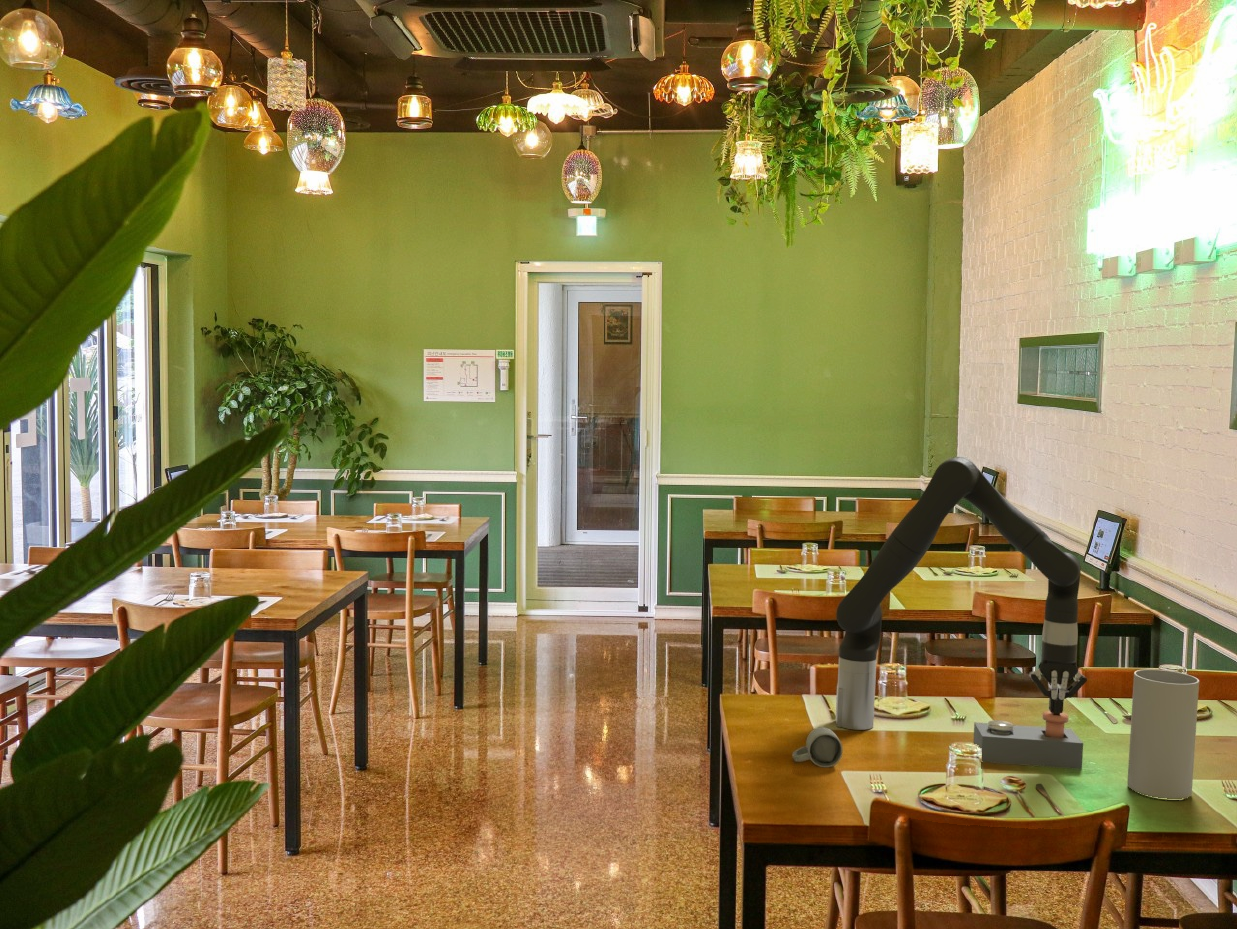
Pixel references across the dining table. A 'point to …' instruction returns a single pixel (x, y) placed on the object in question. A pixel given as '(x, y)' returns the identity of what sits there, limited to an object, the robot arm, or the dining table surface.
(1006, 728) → the steel plunger
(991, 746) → the plunger housing
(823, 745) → the ceramic mug
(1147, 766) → the cylinder vase
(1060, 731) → the terracotta plunger
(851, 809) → the dining table surface
